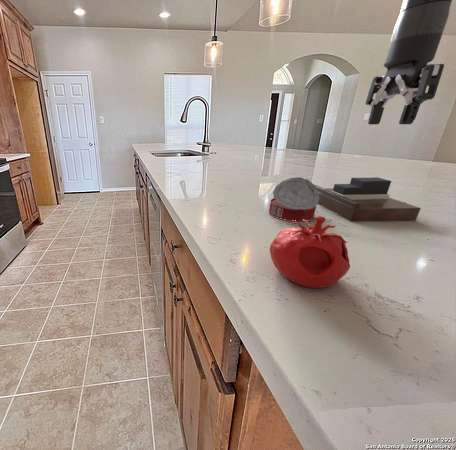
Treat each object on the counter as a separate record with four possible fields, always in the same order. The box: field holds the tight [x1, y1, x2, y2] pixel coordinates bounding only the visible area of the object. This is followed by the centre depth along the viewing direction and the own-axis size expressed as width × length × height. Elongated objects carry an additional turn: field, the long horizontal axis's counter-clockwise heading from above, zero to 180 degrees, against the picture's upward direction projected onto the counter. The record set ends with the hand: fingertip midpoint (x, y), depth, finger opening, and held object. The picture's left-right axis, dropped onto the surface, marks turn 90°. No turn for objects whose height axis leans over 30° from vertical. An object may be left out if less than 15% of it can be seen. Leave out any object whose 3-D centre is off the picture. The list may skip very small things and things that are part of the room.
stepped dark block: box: [331, 176, 392, 200], centre depth 61 cm, size 11×5×4 cm, turn 88°
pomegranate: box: [269, 215, 351, 289], centre depth 35 cm, size 10×10×9 cm
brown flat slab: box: [314, 184, 422, 222], centre depth 62 cm, size 14×18×4 cm
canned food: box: [268, 176, 319, 222], centre depth 59 cm, size 11×10×10 cm
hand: (388, 124), depth 55 cm, fingers open, 8 cm apart
